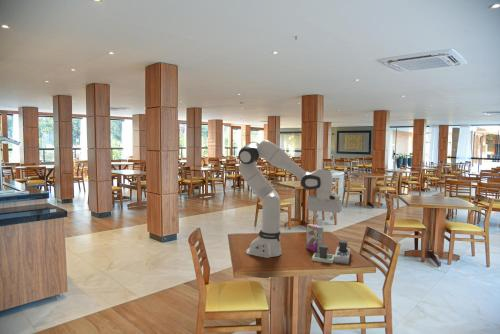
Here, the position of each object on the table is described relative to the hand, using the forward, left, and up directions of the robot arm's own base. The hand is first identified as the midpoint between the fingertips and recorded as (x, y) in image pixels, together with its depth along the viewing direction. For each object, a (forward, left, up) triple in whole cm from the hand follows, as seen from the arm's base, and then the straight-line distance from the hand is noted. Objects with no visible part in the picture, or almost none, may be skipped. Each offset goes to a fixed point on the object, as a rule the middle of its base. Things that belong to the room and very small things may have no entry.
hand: (324, 218), depth 202 cm
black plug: (0, 0, -25) cm, 25 cm away
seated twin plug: (+11, +11, -24) cm, 28 cm away
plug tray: (0, 0, -25) cm, 25 cm away
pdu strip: (+11, +7, -25) cm, 28 cm away
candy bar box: (-8, +17, -25) cm, 32 cm away
